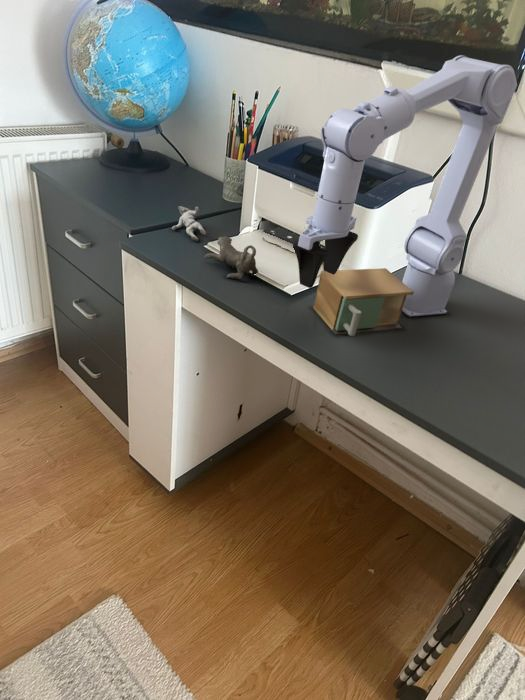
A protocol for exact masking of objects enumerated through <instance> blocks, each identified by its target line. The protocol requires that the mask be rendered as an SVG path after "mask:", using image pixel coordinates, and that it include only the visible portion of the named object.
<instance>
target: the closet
mask: <svg viewBox="0 0 525 700" xmlns="http://www.w3.org/2000/svg"><path fill="white" fill-rule="evenodd" d="M413 293H414V292H413V291H412V290H411V289H410V288H409V287H407V286H406V285H405V284H404V283H403V282H402V280H400V279H399V278H398V277H397V276H396V275H394V274H393V273H392V272H391V271H389V270H388V269H387V268H385V267H384V268H364V269H363V268H361V269H358V268H357V269H338V270H337V272H336V273H335V274H334V275H333V274H331V273H328V272H326V271H324V270H321V271H320V276H319V280H318V285H317V289H316V294H315V297H314V302H313V306H312V308H313V310H314V311H315V312H316V313H317V315H318V316H319V317H320V318H321V319H322V320H323V322H324V323H325V324H326V325H327V326H328V327H329V328H330V330H331V331H332V332H333V333H334V334H335V336H341V335H349V334H348V331H347V330H340V331H337V330H336V329H335V327H336V323H337V320H338V316H339V312H340V308H341V304H342V300H343V298H345V299H355V298H370V297H385V299H384V302H383V305H382V308H381V312H380V315H379V318H378V321H377V325H376V327H372V328H361V329H357V330H356V333H355V334H361V333H370V332H371V333H372V332H382V331H391V330H401V329H402V326H401V325H400V324H399V320H400V318H401V315H402V312H403V311H402V309H403V306H404V303H405V300H406V297H407V295H413Z"/></svg>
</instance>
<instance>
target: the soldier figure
mask: <svg viewBox="0 0 525 700" xmlns="http://www.w3.org/2000/svg"><path fill="white" fill-rule="evenodd" d="M178 210H179V213H180V215H181V216H180V217H179V221H178V224H175V225H173V226H172V227H171V230H176V229H180V228H182V227H183V226H184V227H185V228H186V229H185V233H186V234H187V236H188V237H189V236H190V238H191V241H195V242H198V241H199V240H200V239H199V238H198V237H197V236H196V235H195V234H194V232H195V231H196V230H199V232H200V233H201V234H202V235H203V236H206V235H207V232H206V230H205V229H204V228H203V226H202V225H201V223H200V222H199V221H196V220H195V216H196V215H198V214H199V212H200V209H199V207H198V206H195V208H194V210H191V209H190V208H188V207H184V206H182V205H180V206H178Z"/></svg>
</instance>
